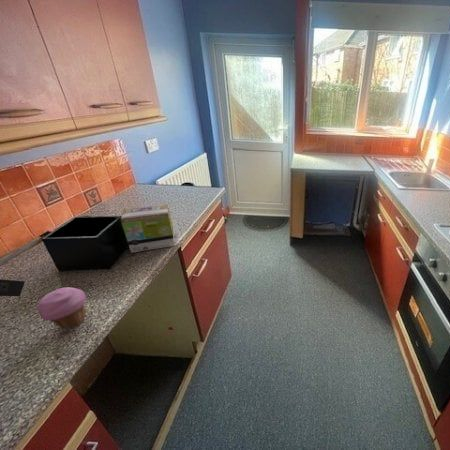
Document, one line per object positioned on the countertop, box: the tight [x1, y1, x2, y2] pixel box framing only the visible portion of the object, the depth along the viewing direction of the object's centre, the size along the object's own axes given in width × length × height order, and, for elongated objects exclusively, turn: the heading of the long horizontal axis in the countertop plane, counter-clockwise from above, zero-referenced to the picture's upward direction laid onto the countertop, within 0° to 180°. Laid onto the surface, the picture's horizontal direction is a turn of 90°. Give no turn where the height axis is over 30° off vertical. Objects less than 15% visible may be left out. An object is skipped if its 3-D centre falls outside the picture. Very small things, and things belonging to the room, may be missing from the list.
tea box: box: [121, 203, 176, 254], centre depth 95 cm, size 15×10×15 cm, turn 115°
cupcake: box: [37, 286, 87, 329], centre depth 63 cm, size 9×9×10 cm
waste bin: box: [41, 215, 130, 272], centre depth 87 cm, size 16×16×13 cm
